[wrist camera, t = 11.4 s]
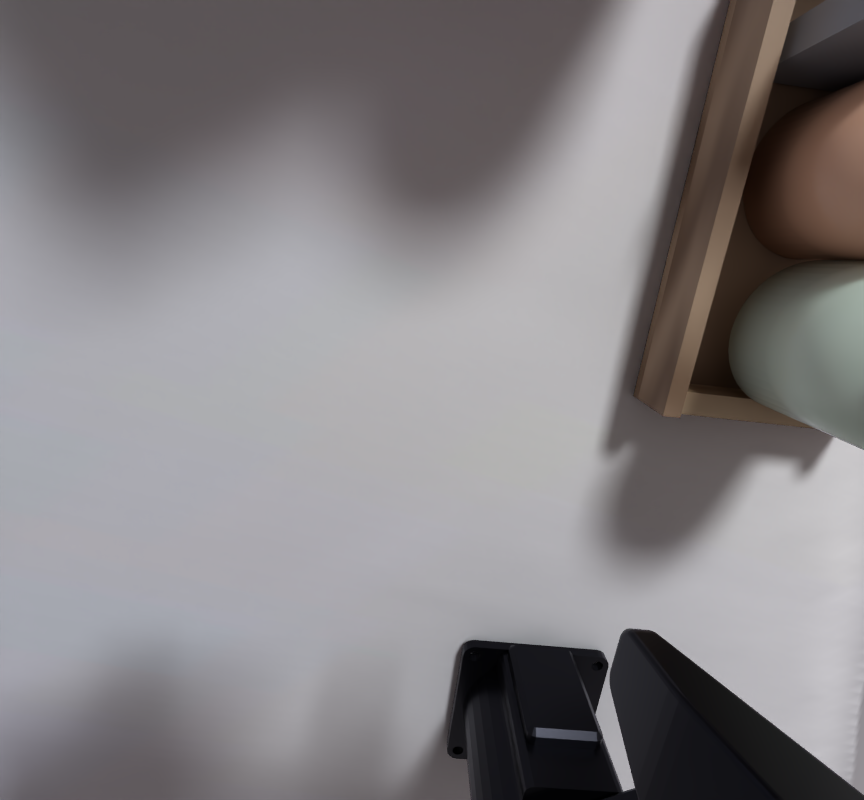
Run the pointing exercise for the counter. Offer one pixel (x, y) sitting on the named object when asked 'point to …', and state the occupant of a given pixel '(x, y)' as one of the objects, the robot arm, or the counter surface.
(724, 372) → the wooden tray
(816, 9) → the bar
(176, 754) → the counter surface
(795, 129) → the terracotta jar
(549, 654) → the robot arm
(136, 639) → the counter surface
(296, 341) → the counter surface
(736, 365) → the sage jar
